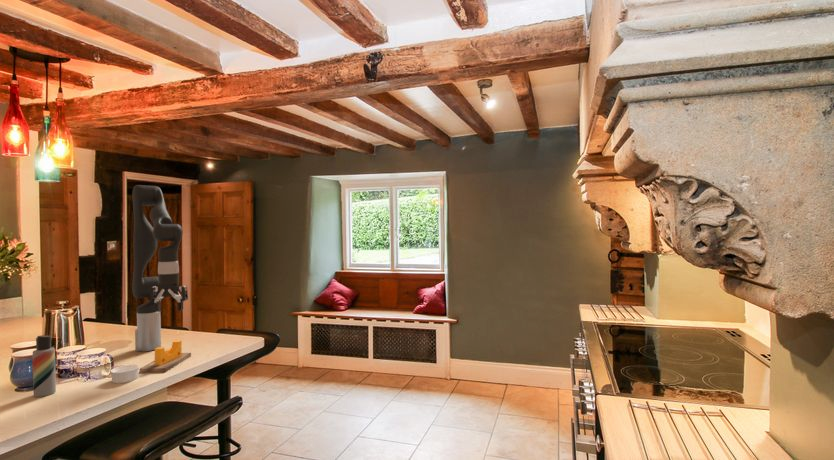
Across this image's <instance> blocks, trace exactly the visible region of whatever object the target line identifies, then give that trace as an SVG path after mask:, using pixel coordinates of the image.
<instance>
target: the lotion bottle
mask: <svg viewBox="0 0 834 460" xmlns="http://www.w3.org/2000/svg"><path fill="white" fill-rule="evenodd" d="M35 343H36V344H35V348H36V349H35V350H33V351H32V380H33V381H32V386H33V396H34V397H35V398H42V397H47V396H51V395H53V394H55V393H56V389H57V385H56V383H57V382H56V381H57V380H56V350H55V347H52V336H51V335H49V334H48V335H47V334H43V335H37V337H36V338H35Z"/></svg>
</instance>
